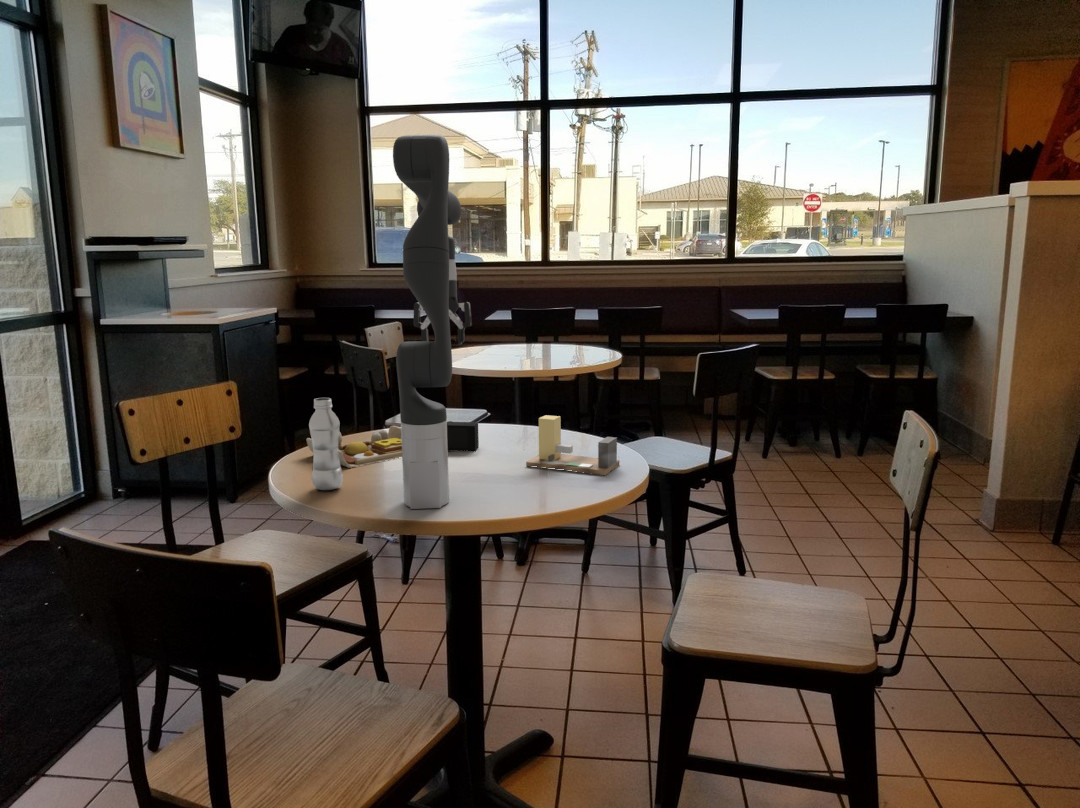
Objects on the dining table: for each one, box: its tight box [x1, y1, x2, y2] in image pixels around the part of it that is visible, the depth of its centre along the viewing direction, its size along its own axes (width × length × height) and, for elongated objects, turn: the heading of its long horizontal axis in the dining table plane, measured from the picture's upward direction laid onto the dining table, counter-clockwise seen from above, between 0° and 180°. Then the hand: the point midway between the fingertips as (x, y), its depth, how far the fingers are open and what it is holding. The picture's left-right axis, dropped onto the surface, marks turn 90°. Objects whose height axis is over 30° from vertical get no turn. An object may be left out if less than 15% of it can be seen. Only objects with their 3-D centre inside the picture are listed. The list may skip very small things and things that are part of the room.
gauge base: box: [525, 436, 620, 476], centre depth 188 cm, size 20×10×7 cm, turn 65°
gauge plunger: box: [538, 414, 574, 461], centre depth 189 cm, size 8×6×10 cm
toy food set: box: [305, 425, 402, 469], centre depth 202 cm, size 25×18×8 cm
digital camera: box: [447, 420, 480, 453], centre depth 206 cm, size 10×5×7 cm, turn 82°
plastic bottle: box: [308, 397, 344, 491], centre depth 171 cm, size 6×7×20 cm
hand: (443, 344), depth 197 cm, fingers open, 8 cm apart
